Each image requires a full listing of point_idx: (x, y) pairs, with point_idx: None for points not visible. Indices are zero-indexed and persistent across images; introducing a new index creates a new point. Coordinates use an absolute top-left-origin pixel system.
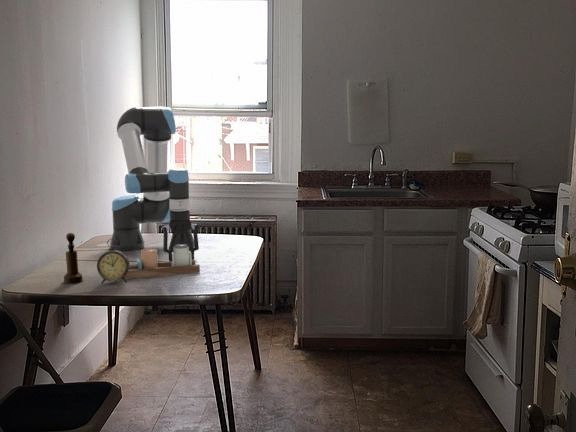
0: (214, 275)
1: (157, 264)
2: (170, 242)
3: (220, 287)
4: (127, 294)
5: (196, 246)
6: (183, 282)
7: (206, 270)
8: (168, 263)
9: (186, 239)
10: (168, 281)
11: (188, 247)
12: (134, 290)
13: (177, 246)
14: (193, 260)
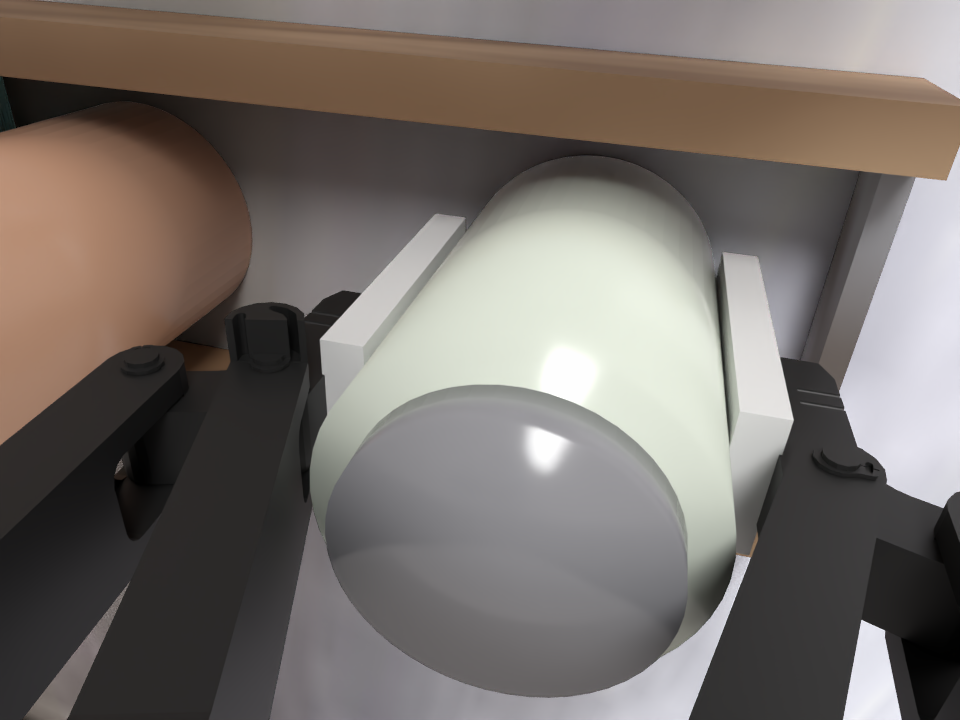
0: (885, 669)
1: (170, 322)
2: (168, 529)
3: None
4: (57, 714)
5: (927, 694)
6: (468, 697)
7: (953, 415)
8: (375, 112)
9: (692, 715)
10: (342, 605)
11: (683, 641)
12: (85, 669)
13: (383, 636)
14: (900, 173)
